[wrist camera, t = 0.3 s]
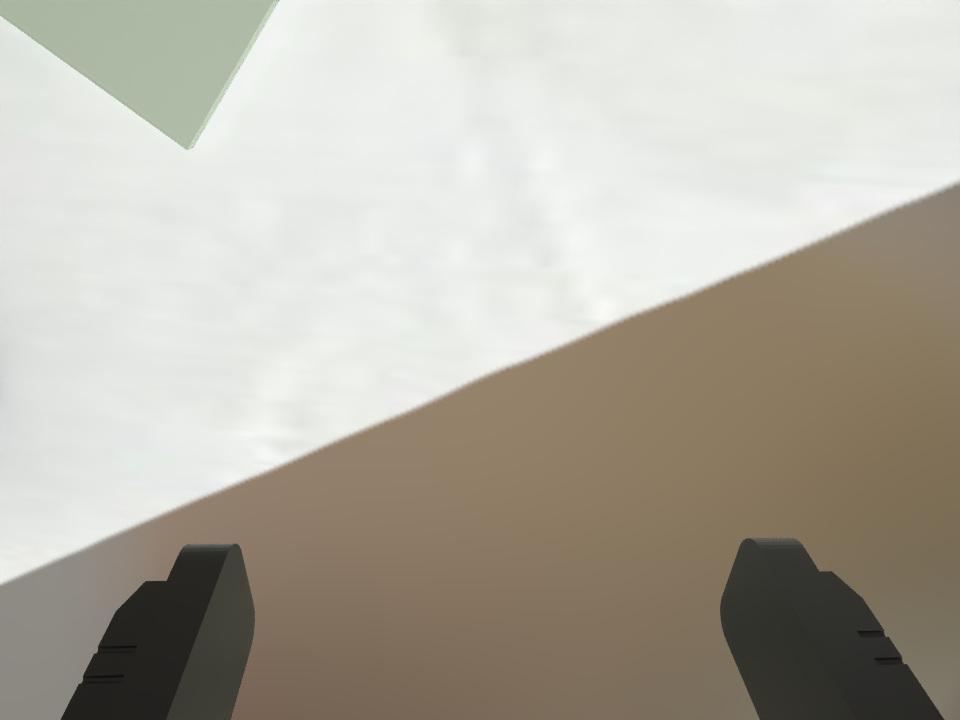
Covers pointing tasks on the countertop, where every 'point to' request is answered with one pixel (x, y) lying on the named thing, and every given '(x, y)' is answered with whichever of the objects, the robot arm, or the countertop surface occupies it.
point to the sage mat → (150, 51)
